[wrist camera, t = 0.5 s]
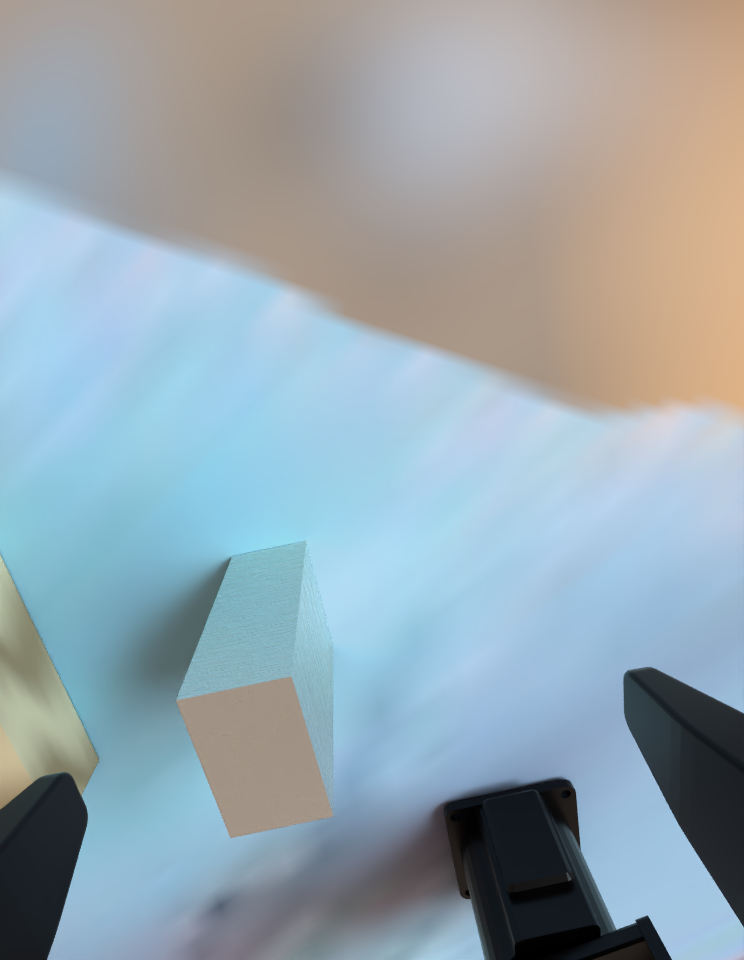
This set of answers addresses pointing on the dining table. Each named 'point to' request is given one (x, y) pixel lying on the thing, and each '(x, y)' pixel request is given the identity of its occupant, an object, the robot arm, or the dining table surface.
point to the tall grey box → (264, 694)
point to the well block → (34, 706)
